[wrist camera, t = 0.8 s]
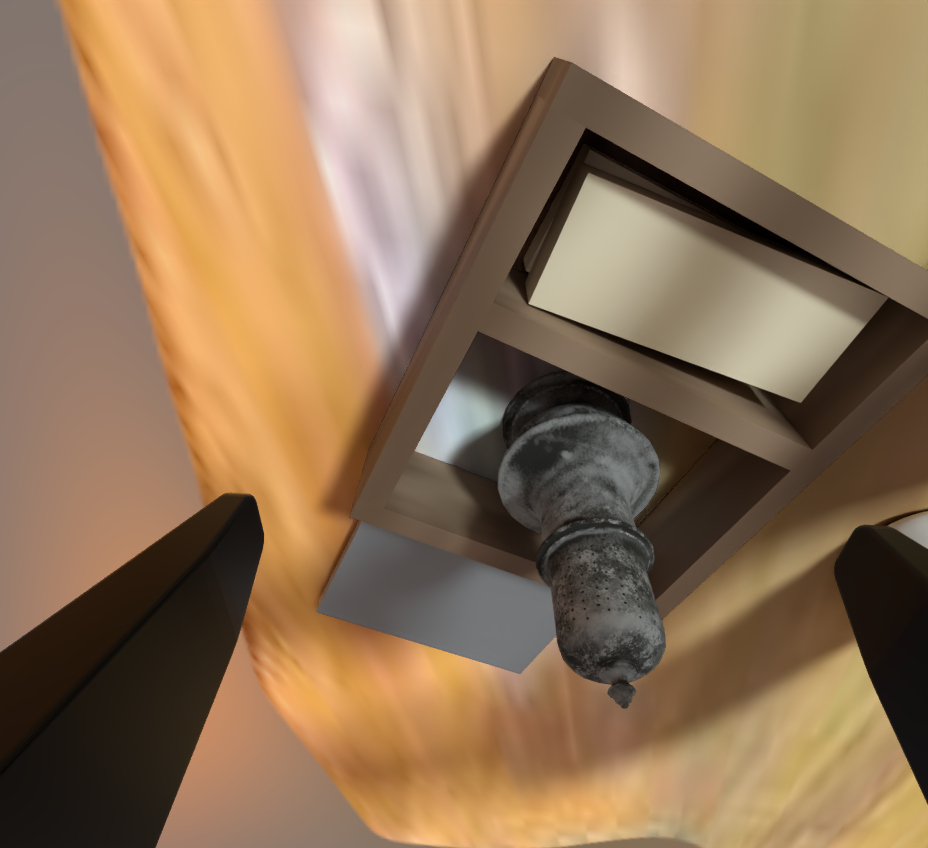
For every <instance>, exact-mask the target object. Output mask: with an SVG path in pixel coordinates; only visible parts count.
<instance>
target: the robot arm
mask: <svg viewBox="0 0 928 848" xmlns="http://www.w3.org/2000/svg"><path fill="white" fill-rule="evenodd" d="M263 545H264V532H263V527H262V523H261V519H260V515H259V511H258V506H257V502H256V500H255V498H254V496H252V495H250V494H242V493H226V494H223V495H221V496H220V497H218V498H217V499H216V500H214V501H213V502H211V503H210V504H208V505H207V506H206V507H204V508H203V509H201V510H200V511H199V512H197V513H196V514H194V515H193V516H192V517H190V518H189V519H187V520H186V521H185V522H183V523H182V524H180V525H179V526H178V527H176V528H175V529H173V530H172V531H170V532H169V533H168V534H166V535H165V536H163V537H162V538H161V539H159V540H158V541H156V542H155V543H154V544H152V545H151V546H149V547H148V548H147V549H145V550H144V551H142V552H141V553H139V554H138V555H137V556H135V557H134V558H132V559H131V560H130V561H128V562H127V563H125V564H124V565H123V566H121V567H120V568H118V569H117V570H116V571H114V572H113V573H111V574H110V575H108V576H107V577H106V578H104V579H103V580H101V581H100V582H99V583H97V584H96V585H94V586H93V587H92V588H90V589H89V590H88V591H86V592H84V593H83V594H82V595H80V596H79V597H78V598H76V599H75V600H74V601H72V602H70V603H69V604H68V605H66V606H65V607H63V608H62V609H61V610H59V611H58V612H56V613H55V614H53V615H52V616H51V617H49V618H48V619H46V620H45V621H44V622H42V623H41V624H40V625H38V626H37V627H35V628H34V629H32V630H31V631H30V632H28V633H27V634H25V635H24V636H22V637H21V638H20V639H19V640H17V641H15V642H14V643H13V644H11V645H10V646H8V647H7V648H6V649H4V650H3V651H1V652H0V848H155V847H156V845H157V843H158V840H159V838H160V835H161V833H162V830H163V828H164V825H165V822H166V820H167V817H168V815H169V812H170V810H171V807H172V805H173V802H174V800H175V797H176V795H177V792H178V790H179V787H180V785H181V782H182V780H183V777H184V774H185V772H186V769H187V767H188V764H189V762H190V760H191V757H192V754H193V752H194V750H195V747H196V744H197V742H198V739H199V737H200V734H201V732H202V729H203V727H204V724H205V722H206V719H207V717H208V714H209V712H210V709H211V707H212V704H213V702H214V699H215V697H216V694H217V691H218V689H219V687H220V684H221V682H222V679H223V676H224V674H225V672H226V669H227V666H228V664H229V661H230V659H231V656H232V654H233V651H234V648H235V646H236V643H237V640H238V636H239V633H240V630H241V627H242V623H243V620H244V616H245V612H246V609H247V605H248V601H249V597H250V594H251V590H252V586H253V583H254V579H255V575H256V572H257V568H258V564H259V561H260V557H261V553H262V550H263ZM834 574H835V579H836V582H837V585H838V588H839V591H840V594H841V597H842V600H843V603H844V606H845V609H846V612H847V614H848V617H849V620H850V623H851V626H852V629H853V632H854V635H855V638H856V641H857V644H858V647H859V650H860V653H861V656H862V658H863V661H864V664H865V666H866V669H867V672H868V674H869V677H870V679H871V681H872V684H873V686H874V688H875V691H876V693H877V695H878V697H879V700H880V702H881V704H882V706H883V708H884V710H885V713H886V715H887V717H888V719H889V721H890V724H891V726H892V728H893V730H894V732H895V734H896V737H897V739H898V741H899V743H900V745H901V747H902V750H903V752H904V754H905V756H906V758H907V761H908V763H909V765H910V767H911V769H912V771H913V774H914V776H915V778H916V780H917V782H918V784H919V787H920V789H921V791H922V793H923V795H924V798H925V800H926V802H927V804H928V549H927V548H925V547H924V546H922V545H921V544H919V543H917V542H916V541H914V540H912V539H911V538H909V537H908V536H906V535H904V534H903V533H901V532H900V531H898V530H896V529H894V528H892V527H889V526H879V525H861V526H859V527H857V528H856V529H855V530H854V531H853V533H852V534H851V536H850V538H849V539H848V541H847V543H846V545H845V546H844V548H843V550H842V551H841V553H840V555H839V557H838V558H837V560H836V562H835V567H834Z"/></svg>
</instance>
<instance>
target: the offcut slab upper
mask: <svg viewBox="0 0 928 848" xmlns="http://www.w3.org/2000/svg"><path fill="white" fill-rule="evenodd" d="M525 286H526V292H527V298H528V304H530V305H533V306H536V307H539V308H541V309H544V310H547V311H550V312H552V313H555V314H558V315H561V316H563V317H566V318H569V319H572V320H574V321H577V322H580V323H583V324H585V325H588V326H591V327H594V328H596V329H599V330H602V331H605V332H607V333H610V334H613V335H616V336H618V337H621V338H624V339H627V340H629V341H632V342H635V343H638V344H640V345H643V346H646V347H649V348H651V349H654V350H657V351H660V352H662V353H665V354H668V355H671V356H673V357H676V358H679V359H681V360H684V361H687V362H690V363H692V364H695V365H698V366H701V367H703V368H706V369H709V370H712V371H714V372H717V373H720V374H723V375H725V376H728V377H731V378H734V379H736V380H739V381H742V382H745V383H747V384H750V385H753V386H756V387H758V388H761V389H764V390H767V391H769V392H772V393H775V394H778V395H780V396H783V397H786V398H789V399H791V400H794V401H797V402H800V403H801V402H802V401H803V399H804V398H805V397H806V396H807V395H808V393H809V392H810V391H811V390H812V389H813V387H814V386H815V385H816V384H817V383H818V382H819V380H820V379H821V378H822V377H823V376H824V374H825V373H826V372H827V371H828V370H829V368H830V367H831V366H832V365H833V364H834V362H835V361H836V360H837V359H838V358H839V356H840V355H841V354H842V353H843V352H844V350H845V349H846V348H847V347H848V346H849V344H850V343H851V342H852V341H853V340H854V338H855V337H856V336H857V335H858V334H859V332H860V331H861V330H862V329H863V328H864V326H865V325H866V324H867V323H868V322H869V320H870V319H871V318H872V317H873V316H874V314H875V313H876V312H877V311H878V310H879V308H880V307H881V306H882V305H883V304H884V302H885V301H886V300H887V299H888V298H889V297H887V296H886V295H884V294H882V293H881V292H879V291H877V290H875V289H874V288H872V287H870V286H868V285H866V284H865V283H863V282H861V281H859V280H857V279H856V278H854V277H852V276H850V275H849V274H847V273H845V272H843V271H841V270H839V269H837V268H834V267H832V266H830V265H827V264H825V263H822V262H820V261H818V260H815V259H813V258H810V257H808V256H806V255H803V254H801V253H798V252H796V251H794V250H791V249H789V248H787V247H784V246H782V245H779V244H777V243H775V242H772V241H770V240H767V239H765V238H763V237H760V236H758V235H755V234H753V233H751V232H748V231H746V230H743V229H741V228H739V227H736V226H734V225H731V224H729V223H727V222H724V221H722V220H719V219H717V218H715V217H712V216H710V215H708V214H705V213H703V212H700V211H698V210H696V209H693V208H691V207H688V206H686V205H684V204H681V203H679V202H676V201H674V200H672V199H669V198H667V197H664V196H662V195H660V194H657V193H655V192H652V191H650V190H648V189H645V188H643V187H641V186H638V185H636V184H633V183H631V182H629V181H626V180H624V179H621V178H619V177H617V176H614V175H612V174H609V173H607V172H605V171H602V170H600V169H597V168H595V167H593V166H590V165H588V164H586V163H583V162H581V161H579V162H578V164H577V167H576V169H575V171H574V173H573V176H572V178H571V180H570V182H569V185H568V187H567V189H566V191H565V194H564V196H563V198H562V200H561V203H560V205H559V207H558V210H557V212H556V214H555V216H554V219H553V221H552V223H551V225H550V228H549V230H548V232H547V234H546V237H545V239H544V241H543V243H542V246H541V248H540V250H539V252H538V255H537V257H536V259H535V262H534V264H533V266H532V268H531V271H530V273H529V275H528V277H527V280H526V282H525Z"/></svg>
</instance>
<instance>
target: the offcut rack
mask: <svg viewBox="0 0 928 848" xmlns="http://www.w3.org/2000/svg"><path fill="white" fill-rule="evenodd" d="M585 128H588V129H589V130H591V131H593V132H595V133H597V134H598V135H600V136H602V137H604V138H605V139H607V140H609V141H611V142H613V143H614V144H616V145H618V146H620V147H622V148H623V149H625V150H627V151H629V152H630V153H632V154H634V155H636V156H638V157H639V158H641V159H643V160H645V161H647V162H648V163H650V164H652V165H654V166H656V167H657V168H659V169H661V170H663V171H664V172H666V173H668V174H670V175H672V176H673V177H675V178H677V179H679V180H681V181H682V182H684V183H686V184H688V185H689V186H691V187H693V188H695V189H697V190H698V191H700V192H702V193H704V194H706V195H707V196H709V197H711V198H713V199H714V200H716V201H718V202H720V203H722V204H723V205H725V206H727V207H729V208H731V209H732V210H734V211H736V212H738V213H740V214H741V215H743V216H745V217H747V218H748V219H750V220H752V221H754V222H756V223H757V224H759V225H761V226H763V227H765V228H766V229H768V230H770V231H772V232H773V233H775V234H777V235H779V236H781V237H782V238H784V239H786V240H788V241H790V242H791V243H793V244H795V245H797V246H798V247H800V248H802V249H804V250H806V251H807V252H809V253H811V254H813V255H815V256H816V257H818V258H820V259H822V260H823V261H825V262H827V263H829V264H831V265H832V266H834V267H836V268H838V269H840V270H841V271H843V272H845V273H847V274H849V275H850V276H852V277H854V278H856V279H857V280H859V281H861V282H863V283H865V284H866V285H868V286H870V287H872V288H874V289H875V290H877V291H879V292H881V293H882V294H884V295H886V296H887V297H889V298H888V299H887V300H886V301H885V302H884V304H883V305H882V306H881V307H880V308H879V310H878V311H877V312H876V313H875V314H874V316H873V317H872V318H871V319H870V320H869V322H868V323H867V324H866V325H865V326H864V328H863V329H862V330H861V331H860V332H859V334H858V335H857V336H856V337H855V338H854V340H853V341H852V342H851V343H850V344H849V346H848V347H847V348H846V349H845V350H844V352H843V353H842V354H841V355H840V356H839V358H838V359H837V360H836V361H835V362H834V364H833V365H832V366H831V367H830V368H829V370H828V371H827V372H826V373H825V374H824V376H823V377H822V378H821V379H820V380H819V382H818V383H817V384H816V385H815V386H814V387H813V389H812V390H811V391H810V392H809V393H808V395H807V396H806V397H805V398H804V399H803V401H802V402H801V403H800V402H797V401H794V400H791V399H789V398H786V397H783V396H780V395H778V394H775V393H772V392H769V391H767V390H764V389H761V388H758V387H756V386H753V385H750V384H747V383H745V382H742V381H739V380H736V379H734V378H731V377H728V376H725V375H723V374H720V373H717V372H714V371H712V370H709V369H706V368H703V367H701V366H698V365H695V364H692V363H690V362H687V361H684V360H681V359H679V358H676V357H673V356H671V355H668V354H665V353H662V352H660V351H657V350H654V349H651V348H649V347H646V346H643V345H640V344H638V343H635V342H632V341H629V340H627V339H624V338H621V337H618V336H616V335H613V334H610V333H607V332H605V331H602V330H599V329H596V328H594V327H591V326H588V325H585V324H583V323H580V322H577V321H574V320H572V319H569V318H566V317H563V316H561V315H558V314H555V313H552V312H550V311H547V310H544V309H541V308H539V307H536V306H533V305H530V304H528V298H527V292H526V286H525V282H526V280H527V277H528V275H526V274H524V273H522V272H520V271H518V270H516V269H514V268H512V266H513V264H514V262H515V260H516V258H517V256H518V254H519V253H520V251H521V249H522V247H523V245H524V243H525V241H526V239H527V237H528V236H529V234H530V232H531V230H532V228H533V226H534V224H535V222H536V220H537V219H538V217H539V215H540V213H541V211H542V209H543V207H544V205H545V204H546V202H547V200H548V198H549V196H550V194H551V192H552V190H553V188H554V187H555V185H556V183H557V181H558V179H559V177H560V175H561V173H562V171H563V170H564V168H565V166H566V164H567V162H568V160H569V158H570V156H571V155H572V153H573V151H574V149H575V147H576V145H577V143H578V141H579V139H580V138H581V136H582V134H583V132H584V130H585ZM478 331H479V332H481V333H483V334H485V335H488V336H490V337H492V338H494V339H497V340H499V341H501V342H503V343H506V344H508V345H510V346H512V347H514V348H517V349H519V350H521V351H523V352H526V353H528V354H530V355H532V356H535V357H537V358H539V359H541V360H544V361H546V362H548V363H550V364H553V365H555V366H557V367H559V368H562V369H564V370H566V371H568V372H571V373H573V374H575V375H577V376H580V377H582V378H584V379H586V380H588V381H591V382H593V383H595V384H597V385H600V386H602V387H604V388H606V389H609V390H611V391H613V392H615V393H618V394H620V395H622V396H624V397H627V398H629V399H631V400H633V401H636V402H638V403H640V404H642V405H645V406H647V407H649V408H651V409H654V410H656V411H658V412H660V413H662V414H665V415H667V416H669V417H671V418H674V419H676V420H678V421H680V422H683V423H685V424H687V425H689V426H692V427H694V428H696V429H698V430H701V431H703V432H705V433H707V434H710V435H712V436H714V437H716V438H719V439H718V440H717V441H716V442H715V443H714V444H713V445H712V446H711V447H710V449H709V450H708V451H707V452H706V453H705V454H704V455H703V456H702V457H701V458H700V460H699V461H698V462H697V463H696V464H695V465H694V466H693V467H692V468H691V469H690V471H689V472H688V473H687V474H686V475H685V476H684V477H683V478H682V479H681V480H680V482H679V483H678V484H677V485H676V486H675V487H674V488H673V489H672V490H671V491H670V493H669V494H668V495H667V496H666V497H665V498H664V499H663V500H662V501H661V502H660V504H659V505H658V506H657V507H656V508H655V509H654V510H653V511H652V512H651V513H650V515H649V516H648V517H647V518H646V519H645V520H644V521H643V522H642V523H641V524H640V526H639V527H638V529H639V530H640V531H641V532H643V533H644V534H645V535H646V536H647V537H648V539H649V541H650V542H651V544H652V546H653V551H654V557H655V558H654V562H653V566H652V569H651V570H650V572H649V573H648V577H649V581H650V584H651V587H652V591H653V594H654V597H655V601H656V604H657V607H658V610H659V614H660V617H661V620H662V619H663V618H664V617H666V616H667V615H668V614H669V613H670V612H671V611H672V610H673V609H674V608H675V607H676V606H677V605H679V604H680V603H681V602H682V601H683V600H684V599H685V598H686V597H687V596H688V595H689V594H691V593H692V592H693V591H694V590H695V589H696V588H697V587H698V586H699V585H700V584H701V583H702V582H704V581H705V580H706V579H707V578H708V577H709V576H710V575H711V574H712V573H713V572H714V571H716V570H717V569H718V568H719V567H720V566H721V565H722V564H723V563H724V562H725V561H726V560H727V559H729V558H730V557H731V556H732V555H733V554H734V553H735V552H736V551H737V550H738V549H739V548H741V547H742V546H743V545H744V544H745V543H746V542H747V541H748V540H749V539H750V538H751V537H752V536H754V535H755V534H756V533H757V532H758V531H759V530H760V529H761V528H762V527H763V526H764V525H766V524H767V523H768V522H769V521H770V520H771V519H772V518H773V517H774V516H775V515H776V514H777V513H779V512H780V511H781V510H782V509H783V508H784V507H785V506H786V505H787V504H788V503H789V502H791V501H792V500H793V499H794V498H795V497H796V496H797V495H798V494H799V493H800V492H801V491H802V490H804V489H805V488H806V487H807V486H808V485H809V484H810V483H811V482H812V481H813V480H814V479H815V478H817V477H818V476H819V475H820V474H821V473H822V472H823V471H824V470H825V469H826V468H827V467H829V466H830V465H831V464H832V463H833V462H834V461H835V460H836V459H837V458H838V457H839V456H840V455H842V454H843V453H844V452H845V451H846V450H847V449H848V448H849V447H850V446H851V445H852V444H854V443H855V442H856V441H857V440H858V439H859V438H860V437H861V436H862V435H863V434H864V433H865V432H867V431H868V430H869V429H870V428H871V427H872V426H873V425H874V424H875V423H876V422H877V421H879V420H880V419H881V418H882V417H883V416H884V415H885V414H886V413H887V412H888V411H889V410H890V409H892V408H893V407H894V406H895V405H896V404H897V403H898V402H899V401H900V400H901V399H902V398H904V397H905V396H906V395H907V394H908V393H909V392H910V391H911V390H912V389H913V388H914V387H915V386H917V385H918V384H919V383H920V382H921V381H922V380H923V379H924V378H925V377H926V376H927V375H928V271H927V270H925V269H924V268H922V267H920V266H919V265H917V264H915V263H913V262H912V261H910V260H908V259H907V258H905V257H903V256H902V255H900V254H898V253H896V252H895V251H893V250H891V249H890V248H888V247H886V246H884V245H883V244H881V243H879V242H878V241H876V240H874V239H872V238H871V237H869V236H867V235H866V234H864V233H862V232H861V231H859V230H857V229H855V228H854V227H852V226H850V225H849V224H847V223H845V222H843V221H842V220H840V219H838V218H837V217H835V216H833V215H831V214H830V213H828V212H826V211H825V210H823V209H821V208H819V207H818V206H816V205H814V204H813V203H811V202H809V201H808V200H806V199H804V198H802V197H801V196H799V195H797V194H796V193H794V192H792V191H790V190H789V189H787V188H785V187H784V186H782V185H780V184H778V183H777V182H775V181H773V180H772V179H770V178H768V177H767V176H765V175H763V174H761V173H760V172H758V171H756V170H755V169H753V168H751V167H749V166H748V165H746V164H744V163H743V162H741V161H739V160H737V159H736V158H734V157H732V156H731V155H729V154H727V153H726V152H724V151H722V150H720V149H719V148H717V147H715V146H714V145H712V144H710V143H708V142H707V141H705V140H703V139H702V138H700V137H698V136H696V135H695V134H693V133H691V132H690V131H688V130H686V129H684V128H683V127H681V126H679V125H678V124H676V123H674V122H673V121H671V120H669V119H667V118H666V117H664V116H662V115H661V114H659V113H657V112H655V111H654V110H652V109H650V108H649V107H647V106H645V105H643V104H642V103H640V102H638V101H637V100H635V99H633V98H632V97H630V96H628V95H626V94H625V93H623V92H621V91H620V90H618V89H616V88H614V87H613V86H611V85H609V84H608V83H606V82H604V81H602V80H601V79H599V78H597V77H596V76H594V75H592V74H590V73H589V72H587V71H585V70H584V69H582V68H580V67H579V66H577V65H575V64H573V63H572V62H568V61H565V60H562V59H559V58H556V57H554V58H553V60H552V62H551V65H550V67H549V69H548V71H547V73H546V75H545V77H544V79H543V82H542V84H541V86H540V88H539V90H538V92H537V94H536V96H535V99H534V101H533V103H532V105H531V107H530V109H529V111H528V113H527V116H526V118H525V120H524V122H523V124H522V126H521V128H520V130H519V132H518V135H517V137H516V139H515V141H514V143H513V145H512V147H511V149H510V152H509V154H508V156H507V158H506V160H505V162H504V164H503V166H502V169H501V171H500V173H499V175H498V177H497V179H496V181H495V183H494V186H493V188H492V190H491V192H490V194H489V196H488V198H487V200H486V202H485V205H484V207H483V209H482V211H481V213H480V215H479V217H478V219H477V222H476V224H475V226H474V228H473V230H472V232H471V234H470V236H469V239H468V241H467V243H466V245H465V247H464V249H463V251H462V253H461V256H460V258H459V260H458V262H457V264H456V266H455V268H454V270H453V272H452V275H451V277H450V279H449V281H448V283H447V285H446V287H445V289H444V292H443V294H442V296H441V298H440V300H439V302H438V304H437V306H436V309H435V311H434V313H433V315H432V317H431V319H430V321H429V323H428V325H427V328H426V330H425V332H424V334H423V336H422V338H421V340H420V342H419V345H418V347H417V349H416V351H415V353H414V355H413V357H412V359H411V362H410V364H409V366H408V368H407V370H406V372H405V374H404V376H403V379H402V381H401V383H400V385H399V387H398V389H397V391H396V393H395V395H394V398H393V400H392V402H391V404H390V406H389V408H388V410H387V412H386V415H385V417H384V419H383V421H382V423H381V425H380V427H379V429H378V432H377V434H376V436H375V438H374V440H373V442H372V444H371V446H370V449H369V451H368V453H367V456H366V460H365V464H364V467H363V471H362V474H361V478H360V482H359V485H358V489H357V492H356V496H355V500H354V503H353V507H352V510H351V514H350V518H353V519H356V520H359V521H362V522H365V523H368V524H371V525H373V526H376V527H379V528H382V529H385V530H388V531H391V532H394V533H397V534H399V535H402V536H405V537H408V538H411V539H414V540H417V541H420V542H422V543H425V544H428V545H431V546H434V547H437V548H440V549H443V550H446V551H448V552H451V553H454V554H457V555H460V556H463V557H466V558H469V559H471V560H474V561H477V562H480V563H483V564H486V565H489V566H492V567H495V568H497V569H500V570H503V571H506V572H509V573H512V574H515V575H518V576H521V577H523V578H526V579H529V580H532V581H535V582H538V583H541V584H544V585H545V583H544V582H543V581H542V580H541V578H540V577H539V575H538V572H537V569H536V554H537V552H538V550H539V547H540V545H541V544H542V542H543V539H542V534H540V533H538V532H536V531H533V530H531V529H529V528H526V527H525V526H523V525H522V524H521V523H519V522H518V521H517V520H516V519H514V518H513V517H512V516H511V515H510V513H509V512H508V511H507V509H506V508H505V507H504V505H503V504H502V501H501V498H500V495H499V492H498V489H497V485H498V483H496V482H494V481H491V480H488V479H486V478H483V477H481V476H478V475H475V474H473V473H470V472H468V471H465V470H462V469H460V468H457V467H455V466H452V465H449V464H447V463H444V462H442V461H439V460H436V459H434V458H431V457H428V456H426V455H423V454H421V453H418V452H415V451H414V450H415V449H416V447H417V445H418V443H419V441H420V439H421V437H422V435H423V433H424V432H425V430H426V428H427V426H428V424H429V422H430V420H431V418H432V416H433V415H434V413H435V411H436V409H437V407H438V405H439V403H440V401H441V400H442V398H443V396H444V394H445V392H446V390H447V388H448V386H449V384H450V383H451V381H452V379H453V377H454V375H455V373H456V371H457V369H458V367H459V366H460V364H461V362H462V360H463V358H464V356H465V354H466V352H467V351H468V349H469V347H470V345H471V343H472V341H473V339H474V337H475V335H476V334H477V332H478ZM546 586H547V585H546Z"/></svg>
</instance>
